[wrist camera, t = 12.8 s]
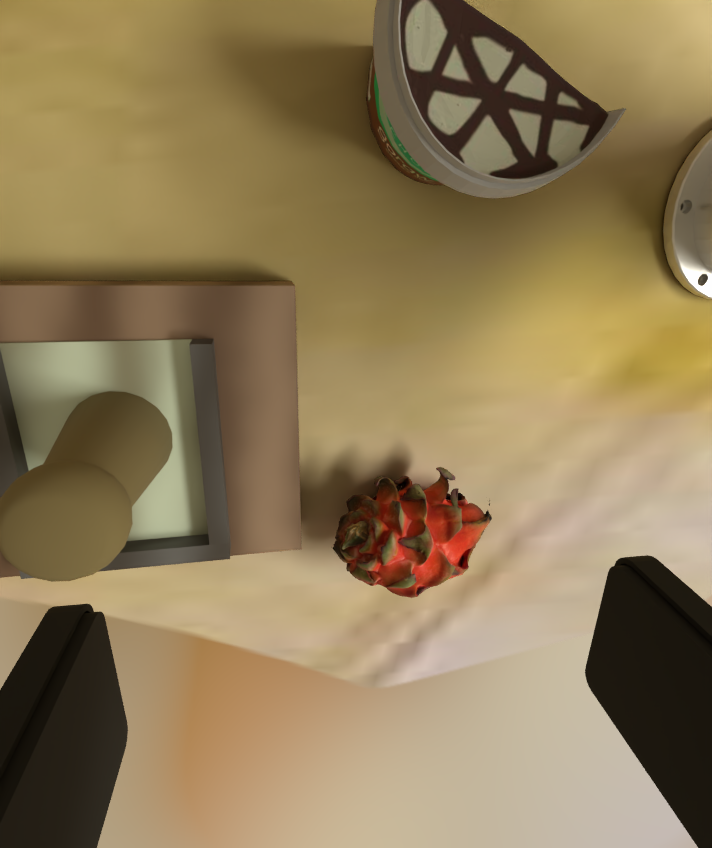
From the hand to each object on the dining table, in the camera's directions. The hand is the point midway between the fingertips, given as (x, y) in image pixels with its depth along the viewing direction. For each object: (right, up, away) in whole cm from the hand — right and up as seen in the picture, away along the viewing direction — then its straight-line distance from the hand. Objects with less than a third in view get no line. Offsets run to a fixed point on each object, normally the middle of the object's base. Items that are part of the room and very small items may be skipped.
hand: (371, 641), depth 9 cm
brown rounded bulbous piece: (-14, +3, +21) cm, 26 cm away
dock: (-15, +4, +24) cm, 29 cm away
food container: (+4, +21, +21) cm, 30 cm away
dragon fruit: (+3, -2, +30) cm, 30 cm away
